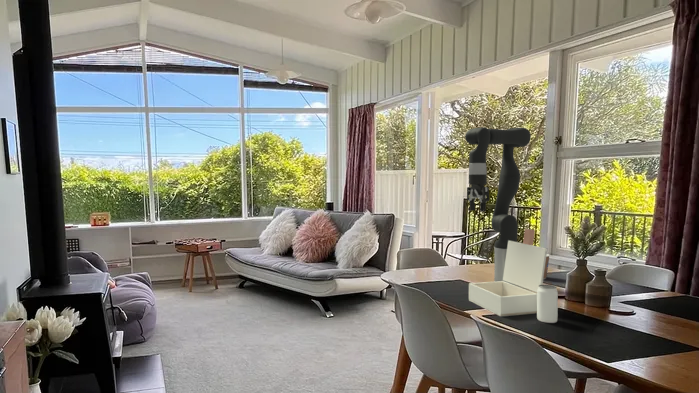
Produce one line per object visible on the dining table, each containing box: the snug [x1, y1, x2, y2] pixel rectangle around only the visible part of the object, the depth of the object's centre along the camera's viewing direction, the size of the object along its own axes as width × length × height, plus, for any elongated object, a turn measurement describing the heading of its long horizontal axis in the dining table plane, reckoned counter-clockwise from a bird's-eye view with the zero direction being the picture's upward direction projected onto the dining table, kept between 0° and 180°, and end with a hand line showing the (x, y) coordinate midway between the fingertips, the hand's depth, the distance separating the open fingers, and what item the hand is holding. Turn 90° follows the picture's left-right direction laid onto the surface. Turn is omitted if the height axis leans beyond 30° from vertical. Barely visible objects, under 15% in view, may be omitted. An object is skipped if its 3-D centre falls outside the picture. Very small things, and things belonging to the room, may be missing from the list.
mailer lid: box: [503, 228, 548, 293], centre depth 165 cm, size 23×22×2 cm
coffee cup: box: [543, 253, 551, 280], centre depth 213 cm, size 10×10×12 cm
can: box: [536, 284, 559, 324], centre depth 146 cm, size 6×6×12 cm
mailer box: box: [468, 281, 537, 318], centre depth 163 cm, size 16×22×7 cm
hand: (477, 210), depth 183 cm, fingers open, 8 cm apart
